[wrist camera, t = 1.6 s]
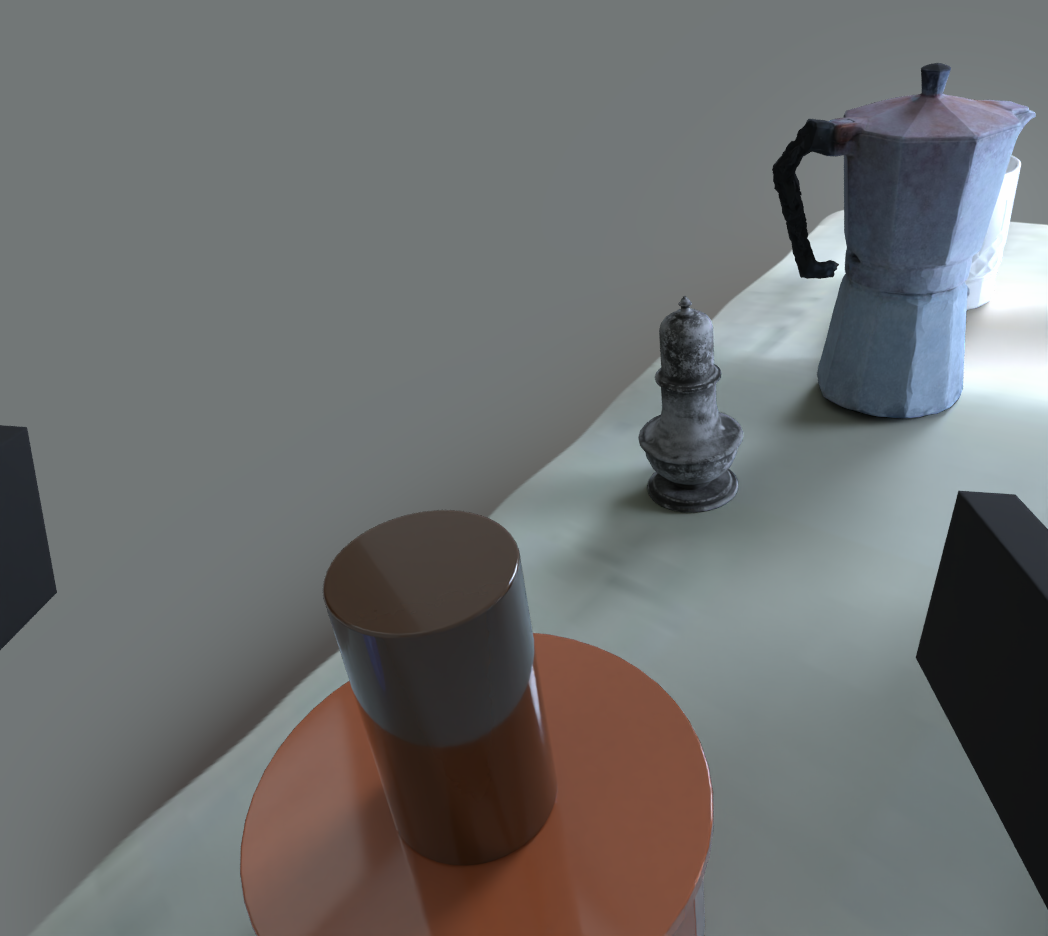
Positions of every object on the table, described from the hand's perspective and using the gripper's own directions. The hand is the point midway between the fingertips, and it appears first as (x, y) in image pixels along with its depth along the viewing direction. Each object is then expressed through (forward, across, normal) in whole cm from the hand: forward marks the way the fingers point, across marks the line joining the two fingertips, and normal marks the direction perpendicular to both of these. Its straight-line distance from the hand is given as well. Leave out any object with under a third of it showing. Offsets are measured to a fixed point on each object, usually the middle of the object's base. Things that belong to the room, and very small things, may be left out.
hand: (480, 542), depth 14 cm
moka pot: (+48, +22, -14) cm, 55 cm away
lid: (+11, -1, -15) cm, 19 cm away
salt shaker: (+40, +9, -17) cm, 44 cm away
